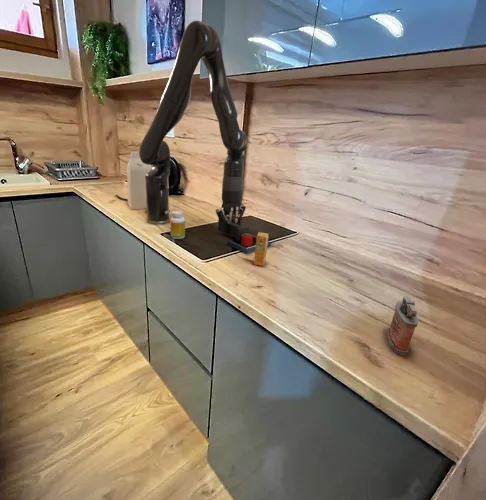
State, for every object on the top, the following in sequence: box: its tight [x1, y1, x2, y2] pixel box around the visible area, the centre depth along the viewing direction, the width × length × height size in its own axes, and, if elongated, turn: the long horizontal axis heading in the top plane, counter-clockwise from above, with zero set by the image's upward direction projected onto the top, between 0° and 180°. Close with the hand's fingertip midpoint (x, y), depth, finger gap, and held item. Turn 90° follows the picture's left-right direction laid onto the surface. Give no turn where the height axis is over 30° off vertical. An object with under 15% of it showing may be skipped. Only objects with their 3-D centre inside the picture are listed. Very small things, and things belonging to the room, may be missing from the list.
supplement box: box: [253, 231, 270, 267], centre depth 94 cm, size 3×3×10 cm
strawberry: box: [240, 232, 253, 247], centre depth 111 cm, size 4×4×4 cm
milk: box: [126, 151, 152, 210], centre depth 149 cm, size 12×12×26 cm
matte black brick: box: [217, 218, 250, 242], centre depth 116 cm, size 14×5×4 cm, turn 39°
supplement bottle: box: [169, 210, 186, 240], centre depth 113 cm, size 5×5×10 cm
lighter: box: [386, 295, 419, 356], centre depth 62 cm, size 8×3×10 cm, turn 163°
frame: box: [227, 234, 272, 255], centre depth 110 cm, size 10×12×2 cm
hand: (229, 232), depth 117 cm, fingers closed on matte black brick, 2 cm apart
